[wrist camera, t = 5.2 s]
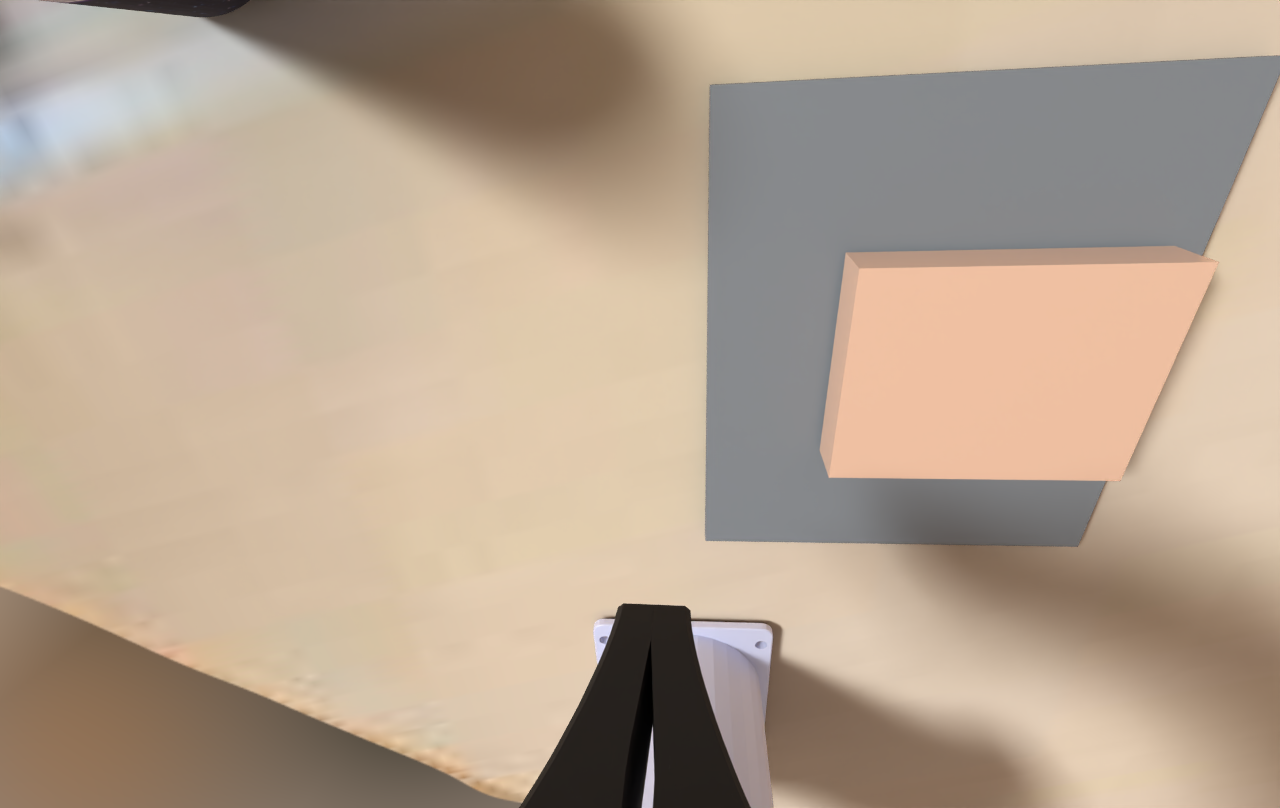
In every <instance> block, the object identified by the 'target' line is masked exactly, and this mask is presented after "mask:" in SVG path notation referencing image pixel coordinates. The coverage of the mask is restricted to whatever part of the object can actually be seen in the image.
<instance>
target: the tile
mask: <svg viewBox="0 0 1280 808" xmlns="http://www.w3.org/2000/svg"><path fill="white" fill-rule="evenodd" d="M1218 263H1219V262H1218V261H1215V260H1212V259H1209V258H1207V257H1204V256H1201V255H1198V254H1196V253H1193V252H1190V251H1187V250H1185V249H1182V248H1179V247H1176V246H1141V247H1092V248H1042V249H993V250H944V251H895V252H846V255H845V262H844V270H843V277H842V285H841V292H840V300H839V307H838V315H837V322H836V330H835V338H834V345H833V353H832V360H831V368H830V375H829V383H828V390H827V398H826V405H825V413H824V421H823V428H822V436H821V443H820V453H821V456H822V459H823V462H824V465H825V468H826V471H827V474H828V477H829V478H902V479H991V480H1080V481H1121V478H1122V476H1123V474H1124V472H1125V469H1126V467H1127V465H1128V463H1129V461H1130V458H1131V456H1132V454H1133V452H1134V450H1135V447H1136V445H1137V443H1138V441H1139V438H1140V436H1141V434H1142V432H1143V430H1144V427H1145V425H1146V423H1147V421H1148V418H1149V416H1150V414H1151V412H1152V410H1153V407H1154V405H1155V403H1156V401H1157V399H1158V396H1159V394H1160V392H1161V390H1162V387H1163V385H1164V383H1165V381H1166V379H1167V376H1168V374H1169V372H1170V370H1171V367H1172V365H1173V363H1174V361H1175V359H1176V356H1177V354H1178V352H1179V350H1180V348H1181V345H1182V343H1183V341H1184V339H1185V336H1186V334H1187V332H1188V330H1189V328H1190V325H1191V323H1192V321H1193V319H1194V316H1195V314H1196V312H1197V310H1198V308H1199V305H1200V303H1201V301H1202V299H1203V297H1204V294H1205V292H1206V290H1207V288H1208V285H1209V283H1210V281H1211V279H1212V277H1213V274H1214V272H1215V270H1216V268H1217V265H1218Z"/></svg>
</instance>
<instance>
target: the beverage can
mask: <svg viewBox="0 0 1280 808" xmlns="http://www.w3.org/2000/svg"><path fill="white" fill-rule="evenodd" d="M41 1H50V2H60V3H69V4H79V5H88V6H98V7H107V8H117V9H126V10H135V11H145V12H154V13H164V14H173V15H183V16H192V17H213V16H219V15H223V14H227V13H229V12H232V11H234V10H236V9H238V8H240V7H241V6H243V5H244V4H246V3H247V2H248V1H249V0H41Z"/></svg>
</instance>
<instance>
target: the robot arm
mask: <svg viewBox="0 0 1280 808" xmlns="http://www.w3.org/2000/svg"><path fill="white" fill-rule="evenodd" d="M593 633H594V640H595V648H596V656H597V664H598V665H597V667H596V670H595V672H594V674H593V676H592V678H591V680H590V682H589V685H588V687H587V689H586V691H585V693H584V695H583V697H582V699H581V702H580V704H579V705H578V707H577V709H576V711H575V713H574V715H573V717H572V719H571V721H570V722H569V724H568V726H567V728H566V730H565V732H564V734H563V735H562V737H561V739H560V741H559V743H558V745H557V747H556V748H555V750H554V752H553V754H552V755H551V757H550V759H549V760H548V762H547V764H546V766H545V767H544V769H543V771H542V772H541V774H540V776H539V777H538V779H537V780H536V782H535V784H534V785H533V787H532V788H531V790H530V792H529V793H528V795H527V796H526V798H525V799H524V801H523V803H522V804H521V806H520V807H519V808H774V807H773V798H772V789H771V780H770V771H769V762H768V754H767V745H766V736H765V716H766V706H767V696H768V685H769V675H770V664H771V654H772V644H773V633H772V628H771V627H770V626H769V625H767V624H764V623H741V622H705V621H691V613H690V610H689V609H688V608H687V607H685V606H671V605H647V604H622V605H621V606H619V607H618V610H617V613H616V617H615V619H600V620H598V621H596V622H595V625H594V631H593ZM605 636H606V637H605Z"/></svg>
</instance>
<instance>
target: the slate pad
mask: <svg viewBox="0 0 1280 808" xmlns="http://www.w3.org/2000/svg"><path fill="white" fill-rule="evenodd" d="M1279 75H1280V56H1256V57H1237V58H1218V59H1198V60H1179V61H1160V62H1140V63H1121V64H1102V65H1082V66H1063V67H1044V68H1024V69H1005V70H986V71H966V72H947V73H928V74H908V75H889V76H870V77H850V78H831V79H812V80H792V81H773V82H754V83H734V84H715V85H710V112H709V211H708V310H707V409H706V508H705V539H706V541H751V542H815V543H878V544H941V545H1005V546H1068V547H1078V545H1079V543H1080V540H1081V538H1082V535H1083V533H1084V531H1085V528H1086V526H1087V524H1088V521H1089V519H1090V517H1091V514H1092V512H1093V510H1094V507H1095V505H1096V503H1097V500H1098V498H1099V496H1100V493H1101V491H1102V489H1103V486H1104V484H1105V482H1106V481H1080V480H991V479H902V478H829V477H828V474H827V471H826V468H825V465H824V462H823V459H822V456H821V453H820V443H821V436H822V428H823V421H824V413H825V405H826V398H827V390H828V383H829V375H830V368H831V360H832V353H833V345H834V338H835V330H836V322H837V315H838V307H839V300H840V292H841V285H842V277H843V270H844V262H845V255H846V252H895V251H944V250H993V249H1042V248H1092V247H1141V246H1176V247H1179V248H1182V249H1185V250H1187V251H1190V252H1193V253H1196V254H1198V255H1201V256H1202V255H1203V252H1204V250H1205V248H1206V245H1207V243H1208V241H1209V238H1210V236H1211V234H1212V231H1213V229H1214V227H1215V224H1216V222H1217V220H1218V217H1219V215H1220V213H1221V210H1222V208H1223V206H1224V203H1225V201H1226V199H1227V196H1228V194H1229V192H1230V189H1231V187H1232V185H1233V182H1234V180H1235V178H1236V175H1237V173H1238V171H1239V168H1240V166H1241V164H1242V161H1243V159H1244V157H1245V154H1246V152H1247V150H1248V147H1249V145H1250V143H1251V140H1252V138H1253V135H1254V133H1255V131H1256V128H1257V126H1258V124H1259V121H1260V119H1261V117H1262V114H1263V112H1264V110H1265V107H1266V105H1267V103H1268V100H1269V98H1270V96H1271V93H1272V91H1273V89H1274V86H1275V84H1276V82H1277V79H1278V77H1279Z"/></svg>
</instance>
